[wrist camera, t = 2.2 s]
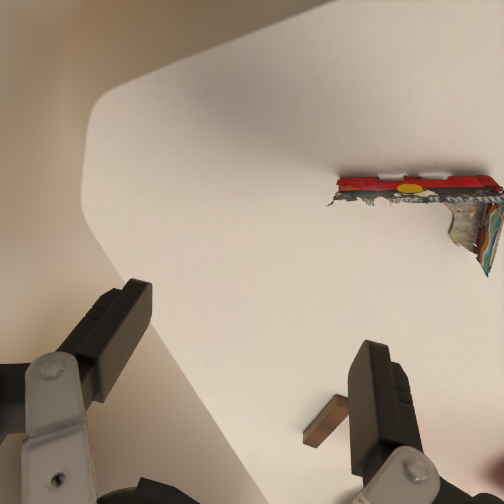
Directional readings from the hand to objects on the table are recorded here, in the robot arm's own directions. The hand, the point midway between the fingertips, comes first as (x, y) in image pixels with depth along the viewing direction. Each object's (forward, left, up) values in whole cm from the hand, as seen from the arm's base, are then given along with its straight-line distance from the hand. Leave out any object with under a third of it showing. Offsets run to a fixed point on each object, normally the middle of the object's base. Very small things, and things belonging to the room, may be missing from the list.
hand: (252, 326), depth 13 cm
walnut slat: (+17, -30, -18) cm, 39 cm away
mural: (+10, -1, -18) cm, 21 cm away
